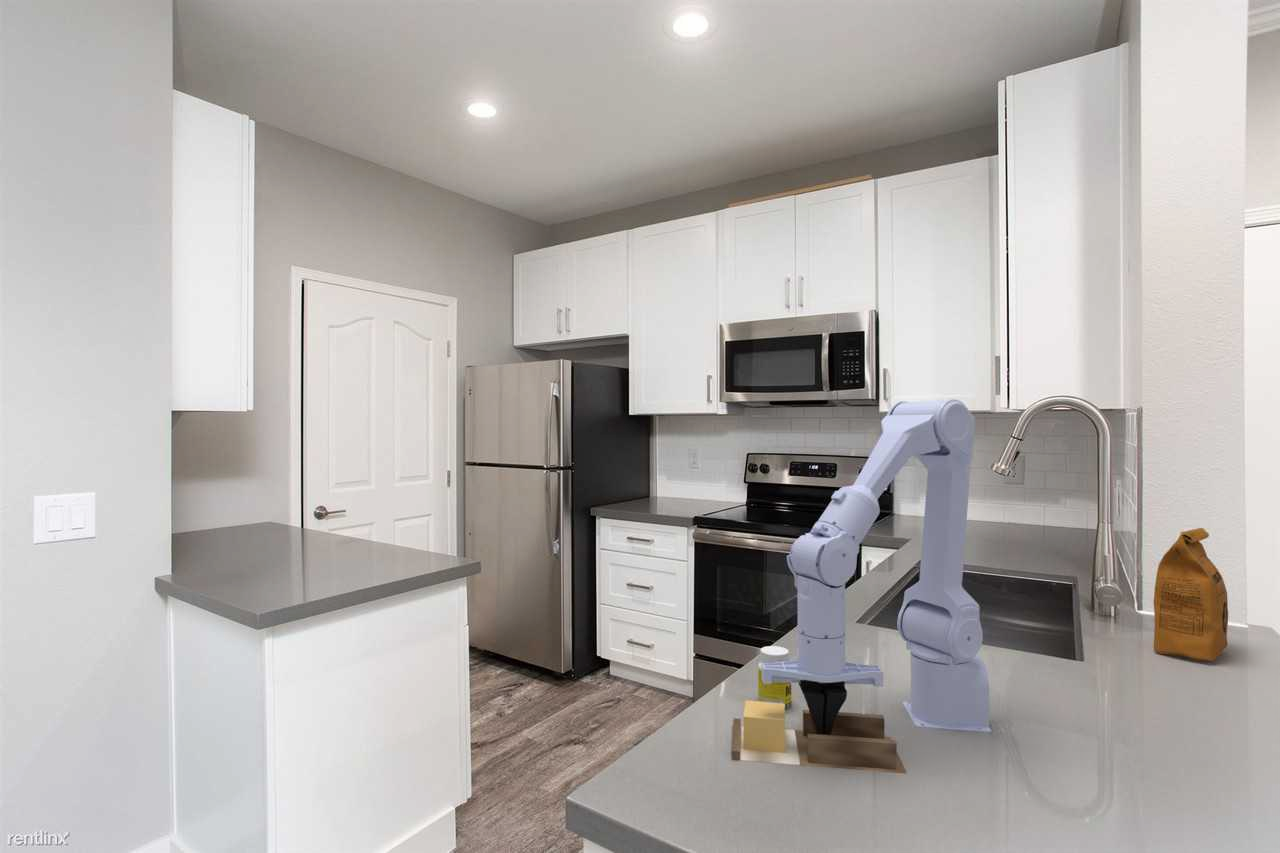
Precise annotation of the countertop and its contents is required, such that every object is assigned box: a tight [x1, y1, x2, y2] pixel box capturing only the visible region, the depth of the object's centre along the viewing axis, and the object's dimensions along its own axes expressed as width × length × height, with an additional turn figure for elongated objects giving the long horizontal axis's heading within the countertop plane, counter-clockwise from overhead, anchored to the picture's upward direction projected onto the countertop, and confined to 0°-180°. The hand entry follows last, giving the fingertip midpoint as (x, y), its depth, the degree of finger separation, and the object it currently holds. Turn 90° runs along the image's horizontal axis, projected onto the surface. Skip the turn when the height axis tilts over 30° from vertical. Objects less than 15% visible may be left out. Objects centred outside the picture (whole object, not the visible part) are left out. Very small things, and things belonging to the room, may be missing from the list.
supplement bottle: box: [757, 645, 792, 713], centre depth 94 cm, size 5×5×8 cm
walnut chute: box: [731, 709, 908, 774], centre depth 82 cm, size 20×9×4 cm, turn 81°
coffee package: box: [1153, 527, 1229, 662], centre depth 117 cm, size 10×12×22 cm
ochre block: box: [743, 700, 786, 753], centre depth 83 cm, size 5×5×4 cm
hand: (821, 741), depth 81 cm, fingers closed
